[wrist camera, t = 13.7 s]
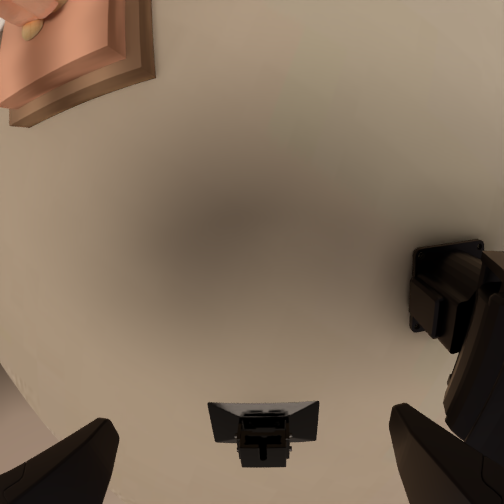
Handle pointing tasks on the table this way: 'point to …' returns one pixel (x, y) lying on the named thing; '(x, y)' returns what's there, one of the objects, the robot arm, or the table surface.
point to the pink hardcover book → (75, 57)
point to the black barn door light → (264, 429)
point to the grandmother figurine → (28, 14)
